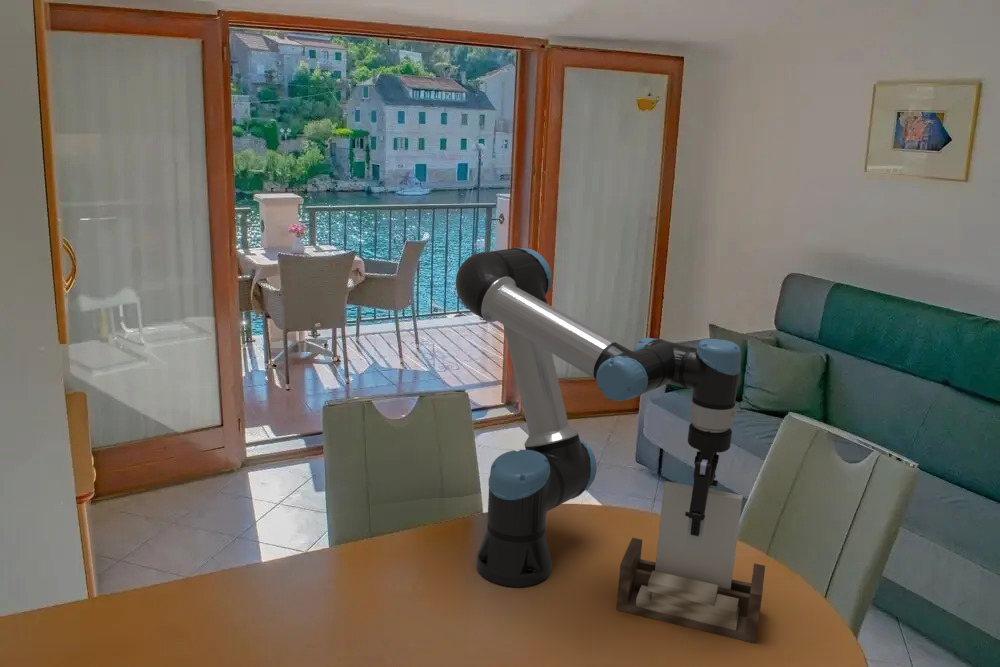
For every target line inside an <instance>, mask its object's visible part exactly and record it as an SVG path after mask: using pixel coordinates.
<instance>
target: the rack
mask: <svg viewBox="0 0 1000 667" xmlns="http://www.w3.org/2000/svg"><path fill="white" fill-rule="evenodd" d="M642 548H643V539H642V538H635V537H631V540H630V541H629V544H628V546H627V548H626V549H625V550H626V551H625V553H624V555H623V557H622V559H621V562H620V566H619V576H618V577H619V578H618V585H617V596H616V609H615V610H616V611H621V612H624V613H628V614H633V615H637V616H641V617H644V618H649V619H653V620H656V621H657V620H658V621H660V622H661V621H662V622H666V623H669V624H674V625H678V626H682V627H686V628H690V629H695V630H699V631H703V632H707V633H710V634H715V635H719V636H723V637H727V638H730V639H731V638H732V639H736V640H740V641H743V642H748V643H752V644H756V642H757V641H756V640H757V633H758V628H759V627H758V626H759V619H760V612H761V607H762V606H761V605H762V601H763V600H762V598H763V593H764V592H763V590H764V580H765V572H766V565H763V564H759V563H753V568H752V576H751V582H745V581H741V580H737V579H733V578H732V582H731V590H729V589H724V588H720V587H718V588H717V594H721V595H725V596H730V597H734V598H738V599H739V601H738V607H739V614H738V620H737V627H736V630H732V629H728V628H724V627H720V626H715V625H711V624H707V623H703V622H699V621H695V620H690V619H686V618H682V617H678V616H674V615H669V614H665V613H661V612H657V611H653V610H649V609H644V608H640V607H636V598H637V595H638V593H639V590H640V587H641V585H644V586H648V581H649V579H650V576H651V573H652V571H655V565H656V561H650V560H646V559H643V558H641V556H642Z"/></svg>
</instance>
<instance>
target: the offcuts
mask: <svg viewBox="0 0 1000 667" xmlns="http://www.w3.org/2000/svg"><path fill="white" fill-rule="evenodd" d="M717 588H718V585H715V584H711V583H706V582H702V581H697V580H693V579H688V578H684V577H679V576H675V575H670V574H666V573H661V572H657V571H652V573H651V576H650V579H649V581H648V586H644V585H641V587H640V590H639V593H638V595H637V598H636V607H640V608H644V609H649V610H653V611H657V612H661V613H665V614H669V615H674V616H678V617H682V618H686V619H690V620H695V621H699V622H703V623H707V624H711V625H715V626H720V627H724V628H728V629H732V630H736V627H737V620H738V614H739V607H738V601H739V599H738V598H734V597H730V596H725V595H721V594H717Z"/></svg>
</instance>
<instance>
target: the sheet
mask: <svg viewBox="0 0 1000 667" xmlns="http://www.w3.org/2000/svg"><path fill="white" fill-rule="evenodd" d="M692 491H693V485H691V484H690V485H688V484H684V483H679V482H673V481H668V480H666V481H665V482H664V484H663V490H662V498H661V499H662V500H661V509H660V519H659V528H658V537H657V538H658V539H657V545H656V546H657V548H656V557H655V562H656V565H655V571H657V572H661V573H666V574H670V575H675V576H679V577H684V578H688V579H693V580H697V581H702V582H706V583H711V584H715V585H718V587H720V588H724V589H729V590H731V582H732V579H733V573H734V566H735V560H736V559H735V557H736V551H737V543H738V536H739V535H738V534H739V528H740V521H741V512H742V505H743V499H744V498H743V497H744V496H743V494H738V493H732V492H728V491H727V492H726V491H722V490H716V489H713V490H711V489H709V490H708V496H707V502H706V509H705V523H704V532H703V540H702V548H701V552H698V551H693V550H689V549H685V548H686V539H687V531H688V522H689V517H688V516H685V513H686V512H689V511H690V504H691V498H692Z"/></svg>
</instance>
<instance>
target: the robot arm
mask: <svg viewBox="0 0 1000 667" xmlns="http://www.w3.org/2000/svg"><path fill="white" fill-rule="evenodd" d="M552 276H553V275H552V270H551V268H550V265H549V263H548V262H547V260H546V259H545V258H544V257H543V255H542V254H540V253H538V252H537V251H536V250H534V249H531V248H528V247H527V248H526V247H522V248H521V247H512V248H511V247H509V248H505V249H499V250H492V251H483V252H482V251H481V252H477V253H475V254H472V255H470V256H469V257H468V258H467V259H465V260H464V261H463V262H462V264H461V265H460V266H459V267H458V271H457V273H456V278H455V290H456V293H457V295H458V298H459V299H460V301H461V303H462V304H463V305H464V306H465V307H466V308H467V309H468V310H469V311H470V312H472V313H473V314H474V315H476V316H478V317H479V318H481V319H483V320H485V321H486V322H488V323H495V322H499V323H500V324H502V325H503V328H504V329H503V330H504V333H505V337H506V338H505V339H506V342H507V346H508V351H509V355H510V359H511V362H512V368H513V372H514V376H515V379H516V384H517V388H518V392H519V396H520V400H521V405H522V409H523V413H524V418H525V422H526V426H527V430H528V431H527V432H528V437H527V439H526V441H525V442H524V444H523V445H524V449H519V450H518V451H517V450H510V451H507V452H504V453H502V454H501V455H498V456H497V457H496V458H495V459H494V461H493V462H492V464H491V465H490V466H491V467H490V473H489V477H488V500H487V505H488V506H487V525H486V526H487V527H486V531H485V532H486V533H485V535H484V536H483V540H482V542H481V544H480V547H479V549H478V551H477V555H476V569H477V571H478V573H479V574H480V575H481V576H482V578H484V579H486V580H488V581H490V582H492V583H494V584H496V585H497V584H498V585H499V586H504V587H505V586H506V587H514V588H523V587H531V586H534V585H537V584H540V583H543V582H544V581H546V580H547V579H548V578H549V577H550V575H551V573H552V564H553V563H552V562H553V561H552V556H551V554H552V553H551V551H550V548H549V544H548V540H547V537H546V522H547V513H548V512H549V511H551V510H553V509H554V508H557V507H558V506H560V505H563V504H564V503H566V502H567V501H570V500H573V499H575V498H577V497H579V496H581V495H582V494H583V493H584V492H586V491H587V490H588V489H590V487H591V486H592V484H593V483H594V481H595V478H596V474H597V470H598V469H597V460H596V456H595V452H594V451H593V449H592V448H591V447H590V446H588V445H587V443H586V442H585V441H583V439H580V435H579V432H578V430H577V429H576V428H573V427H572V426H570V424H569V420H568V415H567V412H566V407H565V403H564V400H563V395H562V390H561V386H560V381H559V378H558V375H557V374H558V373H557V371H556V370H557V369H556V366H555V361H554V357H553V355H554V356H556V357H557V358H559V359H561V360H563V361H564V362H567V363H568V364H569V365H571V366H573V367H575V368H576V369H578V370H579V371H582V372H583V373H584V374H587V375H588V376H589V377H591V378H593V379H594V380H596V384H597V386H598V389H599V390H600V391H601V393H602V395H603V396H604V397H605V398H606V399H608V400H610V401H614V402H623V401H627V400H628V401H629V400H632V399H636V398H638V397H640V396H642V395H644V394H645V393H648V392H650V391H653V390H655V389H658V388H661V387H663V386H665V385H672V386H678V387H679V388H680V387H681V388H685V389H690V390H692V397H691V398H692V399H691V406H690V410H689V411H690V412H689V422H690V424H689V426H688V434H687V444H688V445H689V446H690V447H692V448H693V449H696V450H697V451H696V456H694V461H693V462H694V469H693V484H692V486H693V491H692V498H691V504H690V511H689V512H686V513H685V516H688V517H689V522H688V531H687V539H686V548H685V549H689V550H693V551H698V552H701V548H702V540H703V532H704V523H705V509H706V502H707V496H708V490H709V489H711V490H714V489H715V488H716V487H717V488H718V483H719V481H718V480H716V479H715V478H716V477H717V476H716V470H717V467H718V464H719V461H720V460H719V459H720V453H723V452H727V451H729V449H730V448H731V443H732V442H731V441H732V434H733V431H732V427H733V425H734V424H733V423H734V417H735V418H737V416H739V414H738V411H737V410H735V406H736V401H737V399H736V398H737V395H738V394H737V393H738V386H739V385H738V384H739V381H740V378H739V377H740V374H741V371H742V370H741V356H742V351H741V347H740V346H739V345H738V343H735V342H733V341H731V340H727V339H717V338H704V339H702V340H700V341H699V342H698V345H697V347H694V346H689V345H684V344H682V343H676V342H672V341H668V340H665V339H662V338H652V337H644V338H641V339H640V340H639V341H638V343H637V344H636V345H635V346H634V348H633V350H631V349H629V348H627V347H625V346H623V345H621V344H620V343H617V341H614V340H613V339H611V338H609V337H607V336H605V335H603V334H602V333H600V332H598V331H597V330H595V329H592V328H591V327H589V326H587V325H586V324H584V323H582V322H581V321H578V320H576V319H575V318H573V317H572V316H569V315H567V314H566V313H564V312H562V311H561V310H559V309H557V308H555V307H553V306H552V305H550V304H548V300H547V294H548V293H549V291H550V287H551V286H552V284H553V283H552V282H553V277H552ZM718 453H719V454H718ZM714 487H715V488H714Z"/></svg>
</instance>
